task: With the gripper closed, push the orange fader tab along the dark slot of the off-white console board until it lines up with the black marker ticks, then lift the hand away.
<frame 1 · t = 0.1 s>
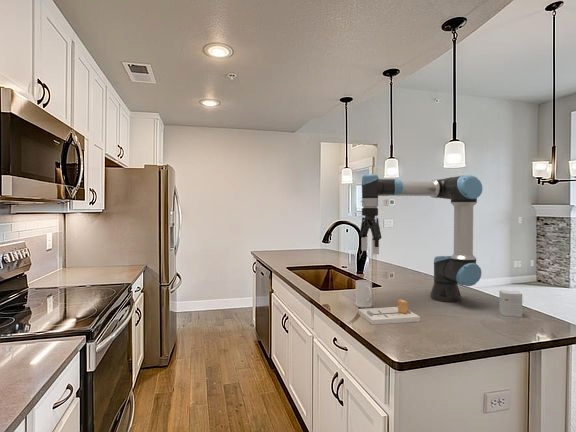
hand: (369, 252, 167), 28 cm above the worktop, fingers open, 13 cm apart
small box: (510, 315, 160), on the worktop
console: (387, 317, 158), on the worktop
mug: (364, 306, 176), on the worktop
fader: (402, 306, 158), point 5 cm above the worktop, slide at 0.0 cm
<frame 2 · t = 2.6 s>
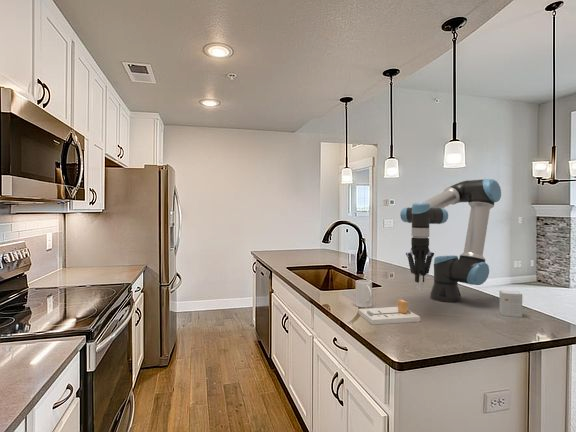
hand: (419, 289, 159), 12 cm above the worktop, fingers closed
nothing on the worktop moved.
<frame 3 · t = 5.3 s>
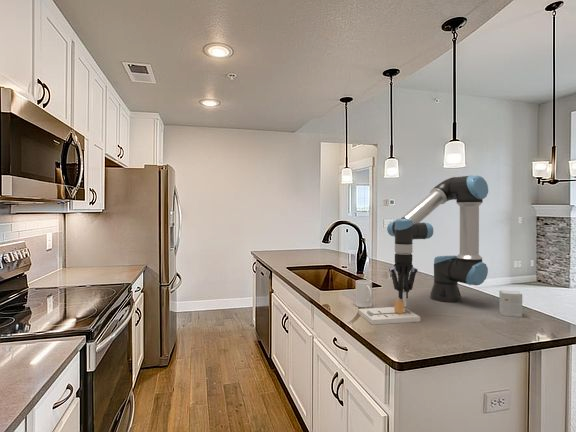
hand: (403, 305, 158), 5 cm above the worktop, fingers closed
fader: (399, 306, 157), point 5 cm above the worktop, slide at 1.7 cm, touching gripper
everything else where it was.
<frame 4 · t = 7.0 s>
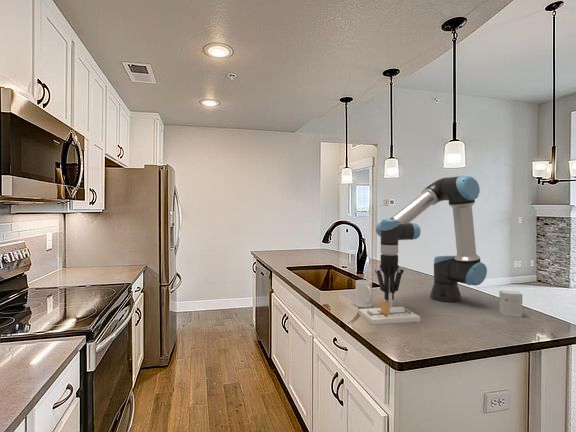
hand: (389, 306, 156), 5 cm above the worktop, fingers closed
fader: (385, 307, 156), point 5 cm above the worktop, slide at 8.4 cm, touching gripper
everything else where it was.
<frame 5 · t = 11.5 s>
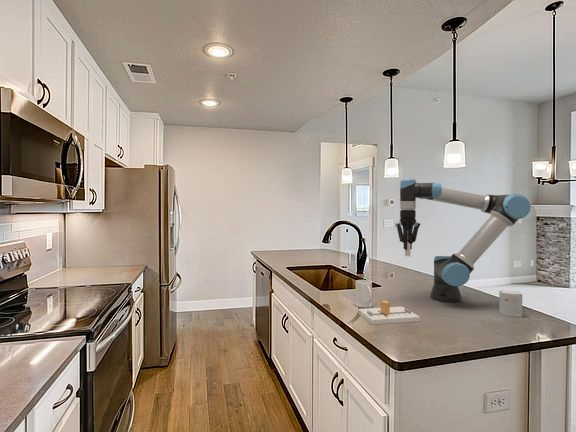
hand: (407, 255, 179), 24 cm above the worktop, fingers closed
fader: (385, 307, 156), point 5 cm above the worktop, slide at 8.4 cm
everything else where it was.
at the end: fader slide at 8.4 cm; fader moved 8.4 cm from its start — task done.
